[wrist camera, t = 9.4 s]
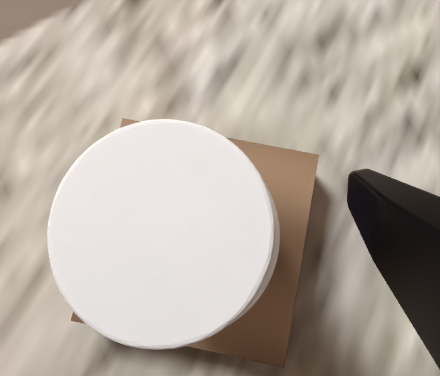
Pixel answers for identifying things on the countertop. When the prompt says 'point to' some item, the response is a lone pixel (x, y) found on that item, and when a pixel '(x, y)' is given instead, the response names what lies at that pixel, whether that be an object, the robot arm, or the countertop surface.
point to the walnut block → (286, 262)
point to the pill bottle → (162, 234)
